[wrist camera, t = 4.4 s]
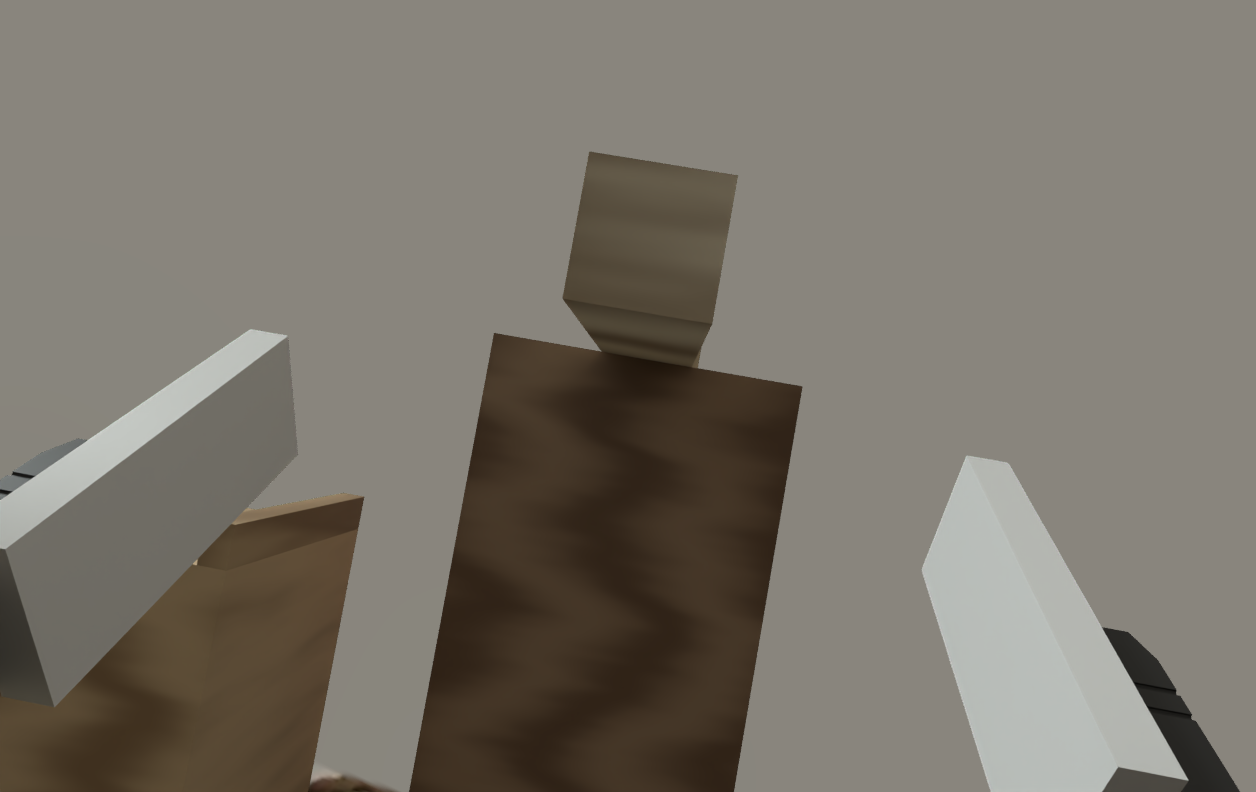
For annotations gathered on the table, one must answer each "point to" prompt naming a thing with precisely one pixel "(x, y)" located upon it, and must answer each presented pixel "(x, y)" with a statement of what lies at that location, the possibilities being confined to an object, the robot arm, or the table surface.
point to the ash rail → (648, 256)
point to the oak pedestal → (206, 671)
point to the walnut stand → (606, 576)
